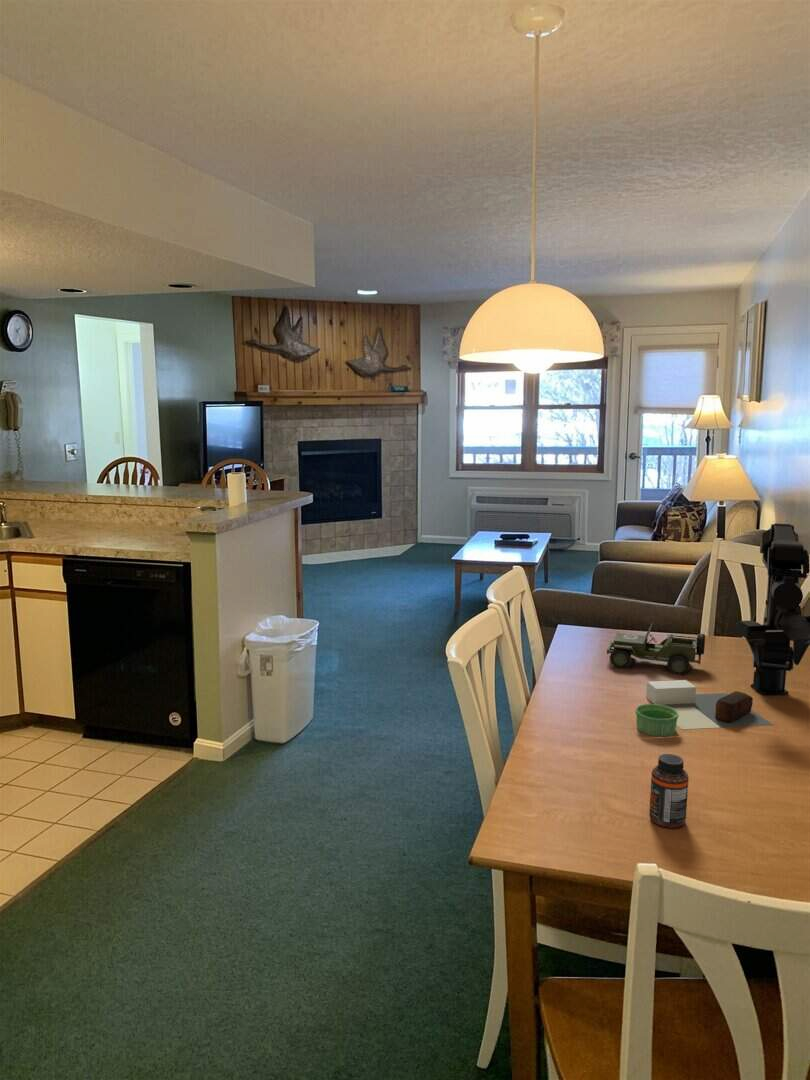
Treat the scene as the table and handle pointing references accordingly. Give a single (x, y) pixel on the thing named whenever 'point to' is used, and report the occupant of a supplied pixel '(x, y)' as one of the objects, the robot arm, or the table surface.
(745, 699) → the brick
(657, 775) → the supplement bottle
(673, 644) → the toy jeep
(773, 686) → the robot arm
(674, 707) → the grey mat
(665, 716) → the ramekin
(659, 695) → the block
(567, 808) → the table surface
